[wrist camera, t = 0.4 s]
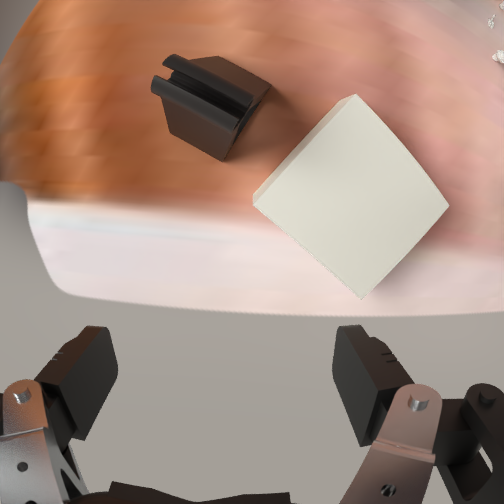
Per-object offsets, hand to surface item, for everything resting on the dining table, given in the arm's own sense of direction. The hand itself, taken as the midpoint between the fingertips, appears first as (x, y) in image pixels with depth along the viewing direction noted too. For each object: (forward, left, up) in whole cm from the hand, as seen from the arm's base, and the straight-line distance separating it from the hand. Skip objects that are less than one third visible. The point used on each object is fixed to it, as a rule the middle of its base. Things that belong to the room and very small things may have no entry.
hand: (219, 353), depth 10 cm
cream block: (-8, +7, -22) cm, 25 cm away
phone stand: (-6, -8, -22) cm, 25 cm away
